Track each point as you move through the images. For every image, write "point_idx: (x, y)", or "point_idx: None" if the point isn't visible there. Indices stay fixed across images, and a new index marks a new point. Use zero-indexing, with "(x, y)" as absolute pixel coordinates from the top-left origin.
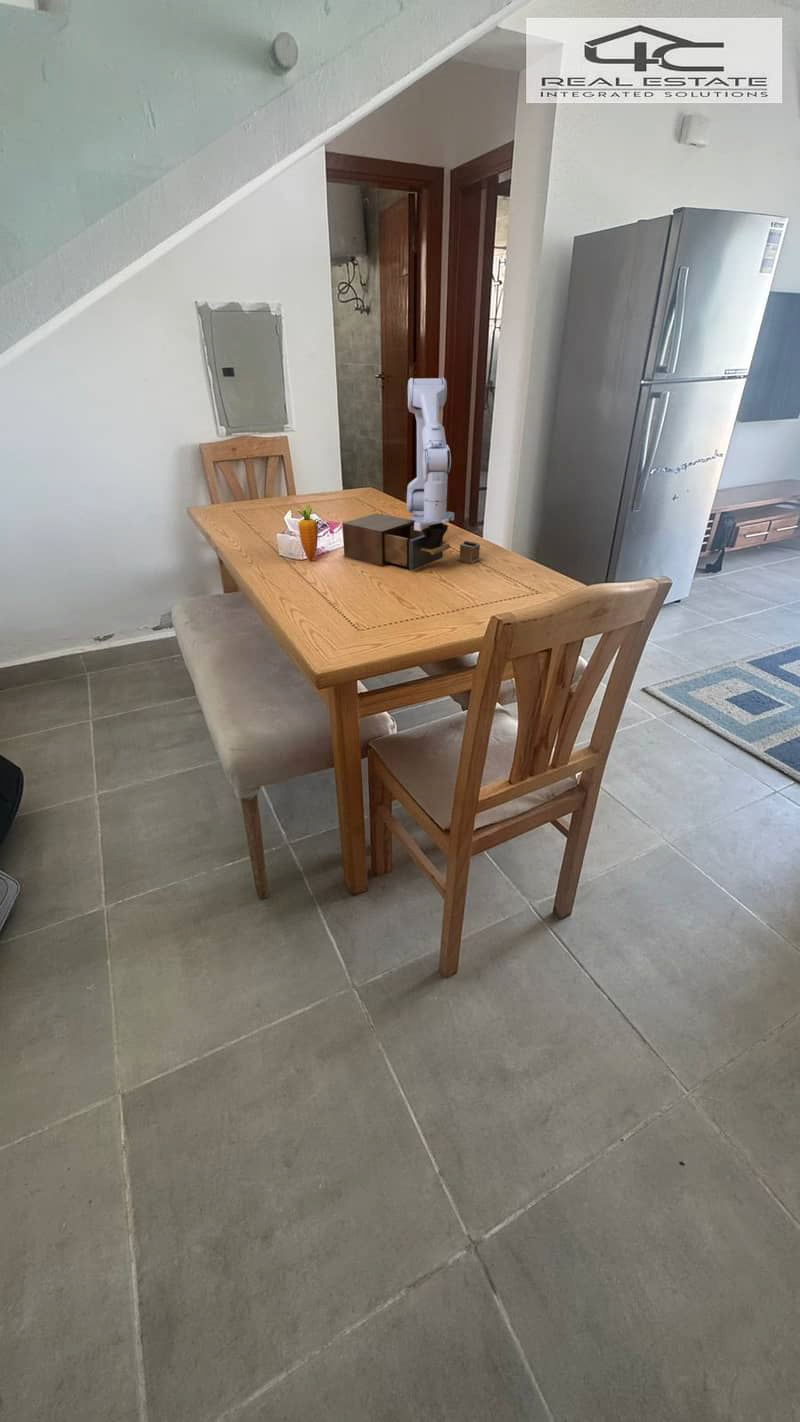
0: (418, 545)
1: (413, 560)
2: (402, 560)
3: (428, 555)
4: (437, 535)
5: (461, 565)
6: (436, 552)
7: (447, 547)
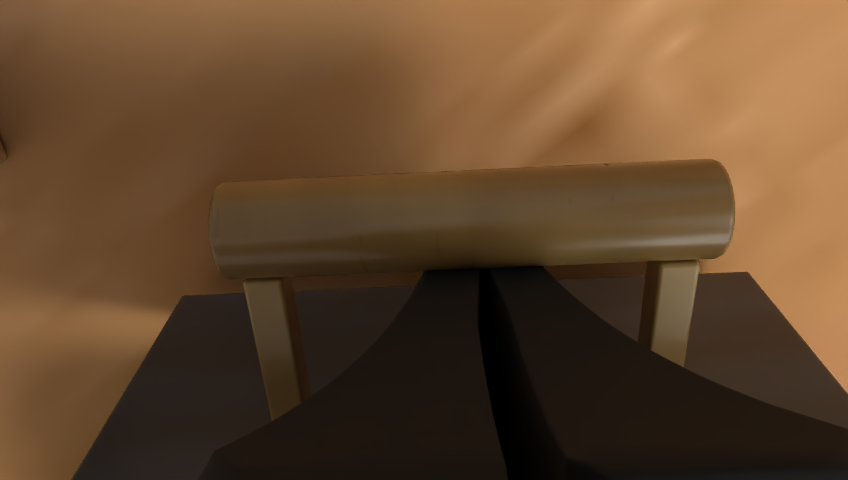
0: None
1: (781, 337)
2: None
3: None
4: (681, 388)
5: (110, 19)
6: (651, 163)
7: (306, 184)
